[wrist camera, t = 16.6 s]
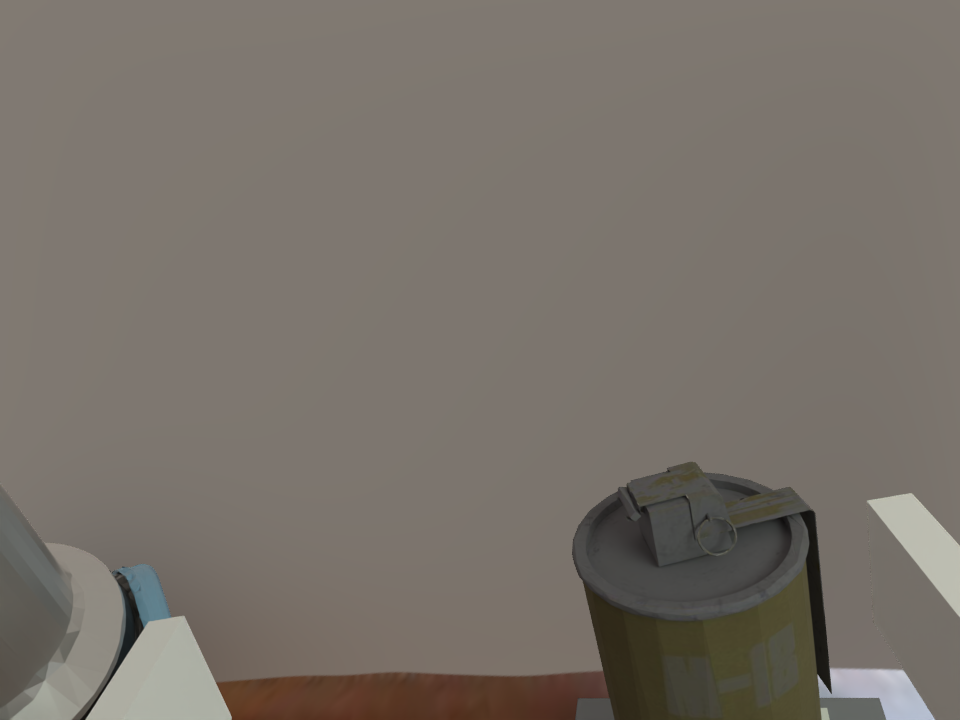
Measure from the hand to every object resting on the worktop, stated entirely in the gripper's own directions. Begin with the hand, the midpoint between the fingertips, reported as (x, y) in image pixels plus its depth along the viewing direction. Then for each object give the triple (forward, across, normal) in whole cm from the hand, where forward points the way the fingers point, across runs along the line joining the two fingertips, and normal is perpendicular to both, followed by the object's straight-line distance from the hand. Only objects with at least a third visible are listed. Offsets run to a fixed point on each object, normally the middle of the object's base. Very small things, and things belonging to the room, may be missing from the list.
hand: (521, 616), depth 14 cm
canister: (+18, +6, -29) cm, 35 cm away
